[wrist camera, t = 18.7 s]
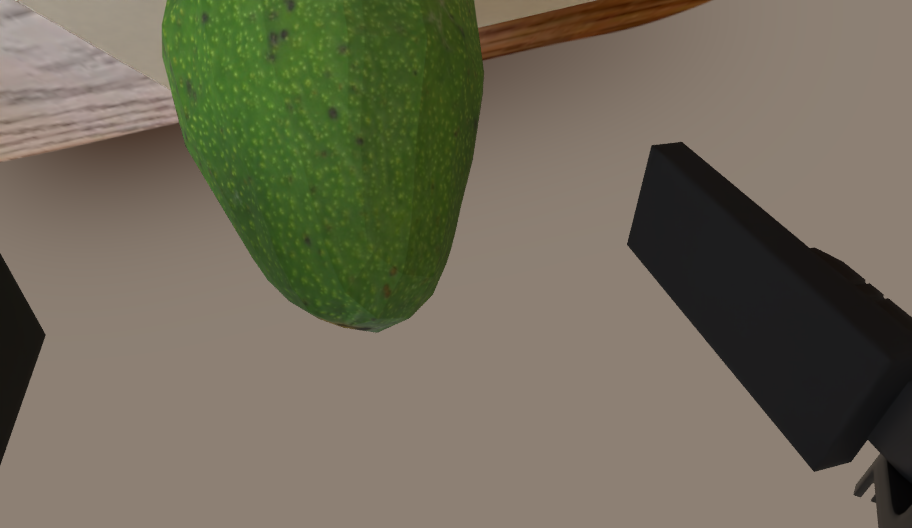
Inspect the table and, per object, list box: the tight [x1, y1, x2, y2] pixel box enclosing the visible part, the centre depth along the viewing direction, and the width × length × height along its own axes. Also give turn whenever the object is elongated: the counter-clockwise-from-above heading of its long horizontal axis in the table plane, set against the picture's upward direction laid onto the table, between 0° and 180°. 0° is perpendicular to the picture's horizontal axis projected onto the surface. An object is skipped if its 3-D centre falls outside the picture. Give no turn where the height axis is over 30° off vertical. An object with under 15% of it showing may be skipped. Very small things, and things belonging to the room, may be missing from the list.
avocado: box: [162, 0, 484, 332], centre depth 16 cm, size 8×8×12 cm
